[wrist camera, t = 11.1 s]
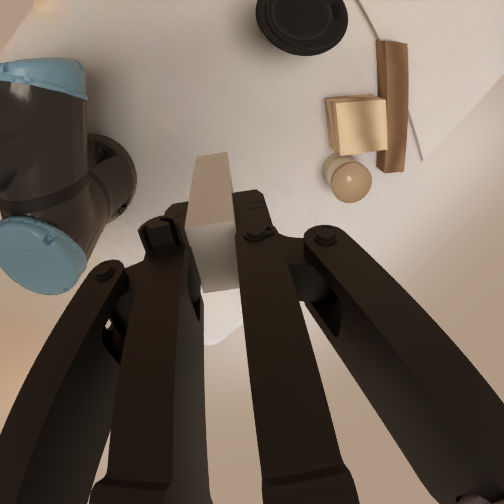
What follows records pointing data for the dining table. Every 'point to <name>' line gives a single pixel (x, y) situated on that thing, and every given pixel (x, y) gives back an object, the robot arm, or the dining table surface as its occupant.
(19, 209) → the robot arm
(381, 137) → the block
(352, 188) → the sugar pot
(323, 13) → the coffee cup
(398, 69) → the board
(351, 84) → the dining table surface
